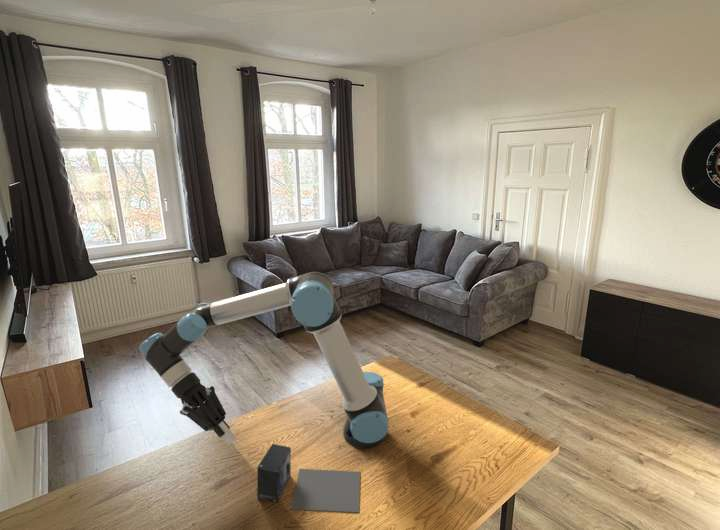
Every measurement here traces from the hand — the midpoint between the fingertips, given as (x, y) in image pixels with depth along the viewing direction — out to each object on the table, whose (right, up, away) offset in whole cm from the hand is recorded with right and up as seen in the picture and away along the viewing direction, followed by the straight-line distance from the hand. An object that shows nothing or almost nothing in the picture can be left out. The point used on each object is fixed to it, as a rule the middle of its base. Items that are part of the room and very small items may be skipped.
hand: (232, 441), depth 114 cm
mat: (+28, -14, 0) cm, 31 cm away
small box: (+12, -14, +1) cm, 19 cm away
